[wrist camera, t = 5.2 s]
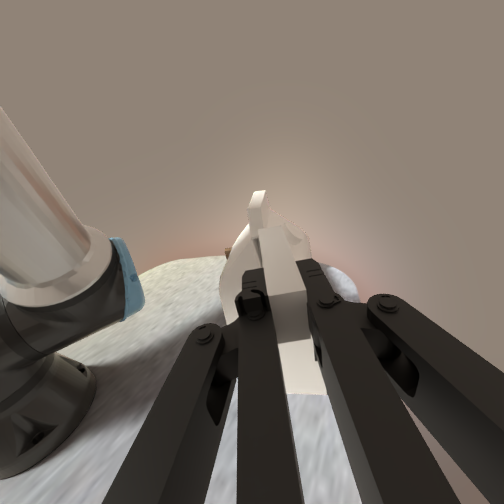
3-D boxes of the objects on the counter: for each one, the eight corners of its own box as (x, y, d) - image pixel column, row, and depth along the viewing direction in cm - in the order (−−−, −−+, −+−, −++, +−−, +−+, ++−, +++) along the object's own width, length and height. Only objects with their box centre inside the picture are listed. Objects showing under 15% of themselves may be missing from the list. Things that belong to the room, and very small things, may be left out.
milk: (253, 327, 44) (220, 190, 32) (317, 325, 42) (308, 177, 29) (243, 392, 34) (187, 228, 22) (326, 395, 32) (318, 212, 19)
